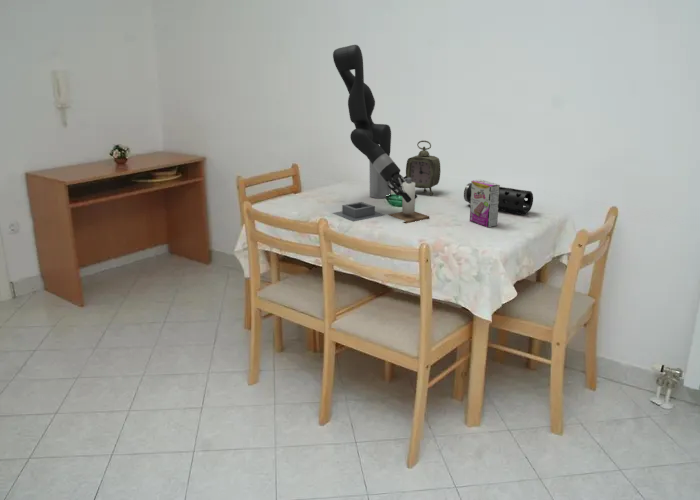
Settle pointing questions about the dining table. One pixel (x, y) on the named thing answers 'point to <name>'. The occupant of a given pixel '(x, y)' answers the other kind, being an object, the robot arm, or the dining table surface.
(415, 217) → the walnut board
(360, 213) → the socket block
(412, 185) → the bottle
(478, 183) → the candy bar box
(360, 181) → the dining table surface
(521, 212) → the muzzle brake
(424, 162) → the tabletop clock
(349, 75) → the robot arm
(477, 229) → the dining table surface
